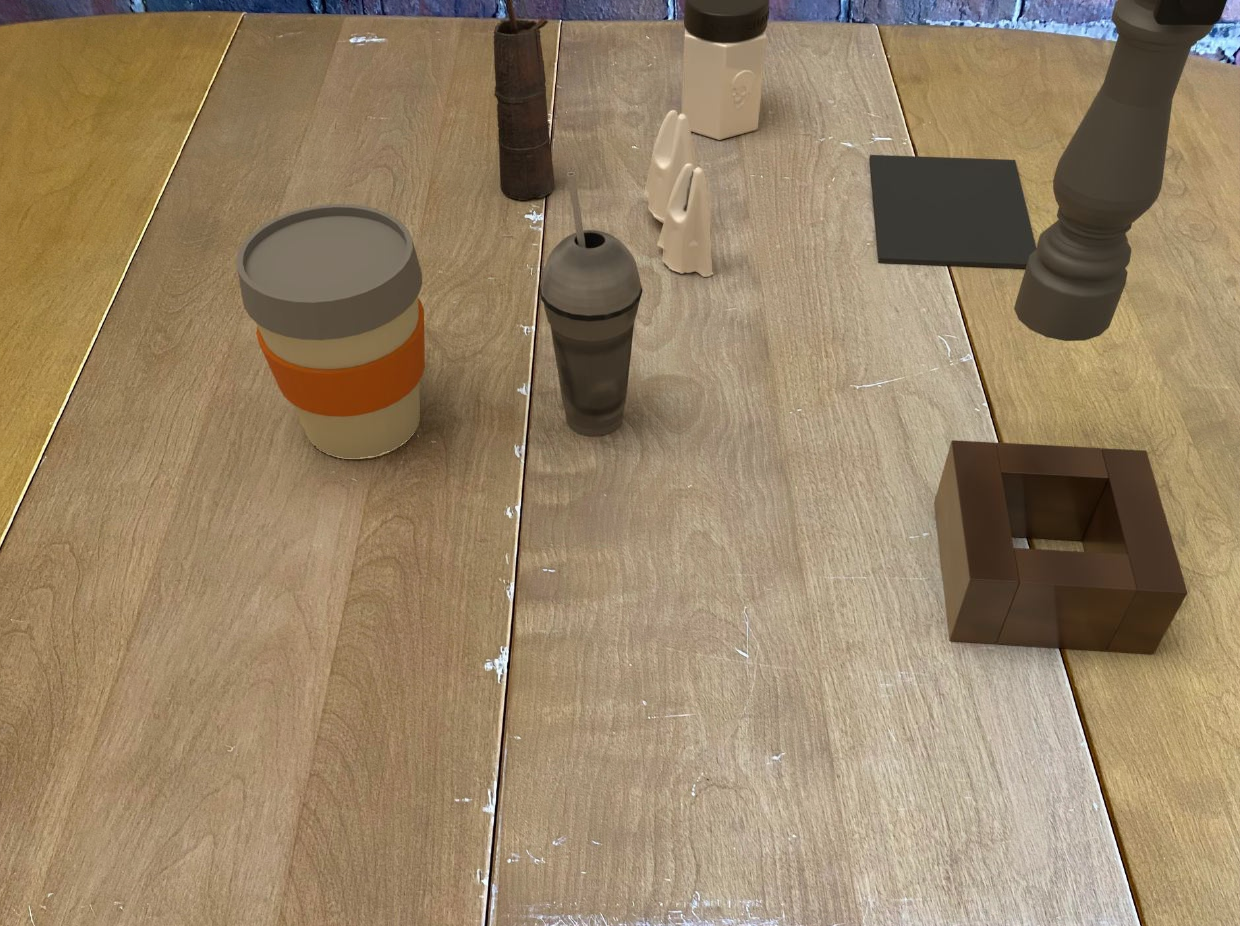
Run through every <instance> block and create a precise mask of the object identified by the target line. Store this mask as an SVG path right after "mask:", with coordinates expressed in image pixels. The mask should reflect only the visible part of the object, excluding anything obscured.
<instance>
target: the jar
mask: <svg viewBox="0 0 1240 926" xmlns="http://www.w3.org/2000/svg"><path fill="white" fill-rule="evenodd" d="M770 9H771V7H770V0H684V8H683V10H684V11H683V26H684V35H683V36H684V37H683V38H684V41H683V61H682V64H683V65H682V88H681V90H682V92H681V113H680V114H684V115H685V116H686V117H687V119H688V122H689V126H690V130H691V133H694V134H698V135H700V136H701V135H702V136H704V137H707V138H711V139H714V140H717V141H721V140H722V141H723V140H726V139H729V138H732V137H736V136H740V135H744V134H746V133H751V132H754V131H757V130H758V128H759V121H760V110H761V100H762V99H761V97H762V87H763V77H764V67H765V54H766V45H767V28H768V21H769V18H770Z"/></svg>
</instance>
